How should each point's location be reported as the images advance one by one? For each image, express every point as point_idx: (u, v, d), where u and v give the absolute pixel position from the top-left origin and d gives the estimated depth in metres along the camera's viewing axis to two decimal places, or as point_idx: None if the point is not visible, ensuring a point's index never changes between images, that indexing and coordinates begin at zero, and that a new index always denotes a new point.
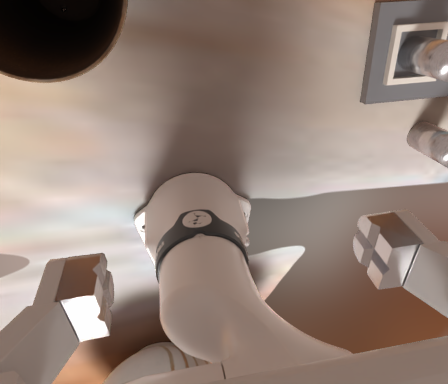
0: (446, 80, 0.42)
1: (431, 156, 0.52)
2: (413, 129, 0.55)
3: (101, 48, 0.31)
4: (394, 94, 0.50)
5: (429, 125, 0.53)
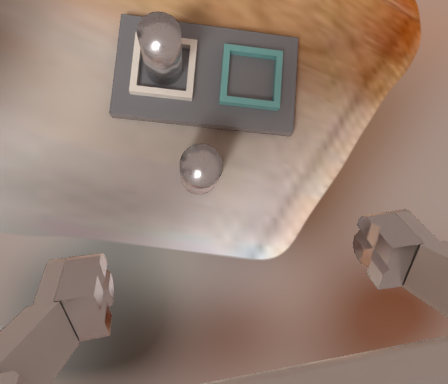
0: (150, 50, 0.35)
1: (182, 178, 0.38)
2: None
3: None
4: (146, 109, 0.42)
5: None
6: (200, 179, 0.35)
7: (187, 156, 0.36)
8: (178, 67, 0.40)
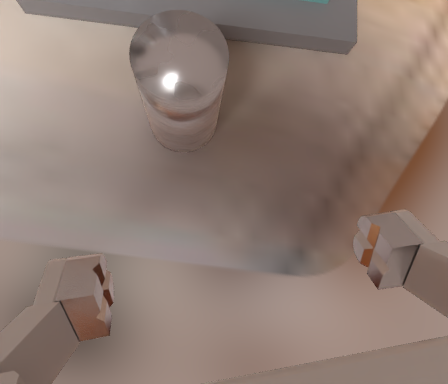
0: None
1: (142, 97, 0.18)
2: None
3: None
4: None
5: None
6: (176, 86, 0.15)
7: (146, 34, 0.16)
8: None
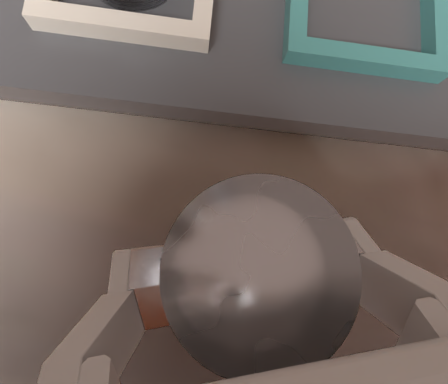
0: None
1: None
2: None
3: None
4: (78, 72, 0.15)
5: None
6: (258, 350, 0.07)
7: (194, 231, 0.08)
8: None
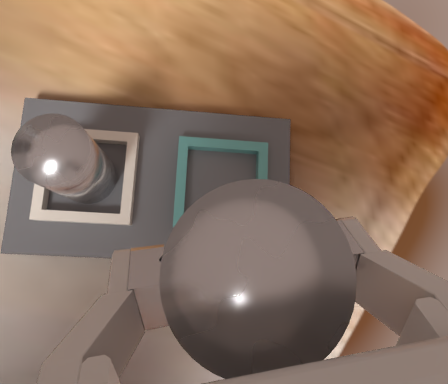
0: (34, 180, 0.20)
1: None
2: None
3: None
4: (60, 242, 0.27)
5: None
6: (255, 350, 0.07)
7: (194, 235, 0.08)
8: (102, 184, 0.25)
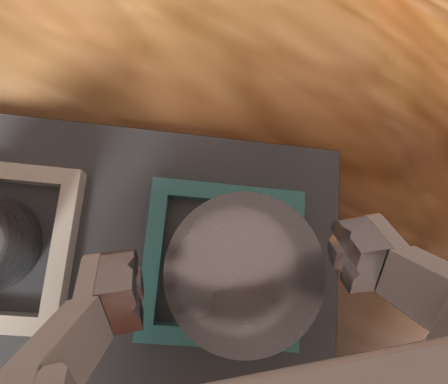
0: None
1: None
2: None
3: None
4: None
5: None
6: (242, 332, 0.09)
7: (191, 239, 0.09)
8: None
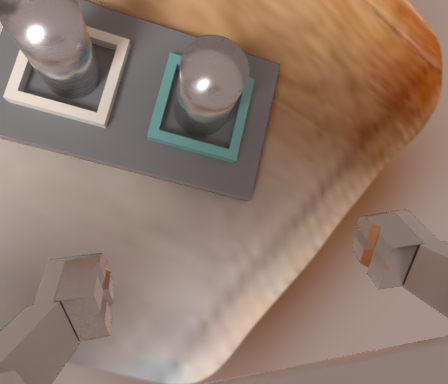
0: (17, 37, 0.20)
1: (180, 91, 0.24)
2: None
3: None
4: (31, 129, 0.27)
5: None
6: (209, 89, 0.22)
7: (194, 49, 0.22)
8: (85, 75, 0.25)
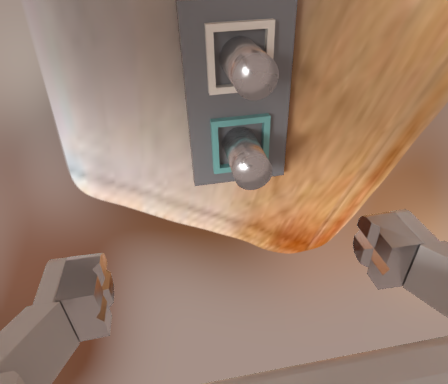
0: (235, 72, 0.32)
1: (238, 150, 0.40)
2: (249, 130, 0.45)
3: None
4: (190, 45, 0.38)
5: None
6: (240, 175, 0.39)
7: (260, 160, 0.39)
8: None
